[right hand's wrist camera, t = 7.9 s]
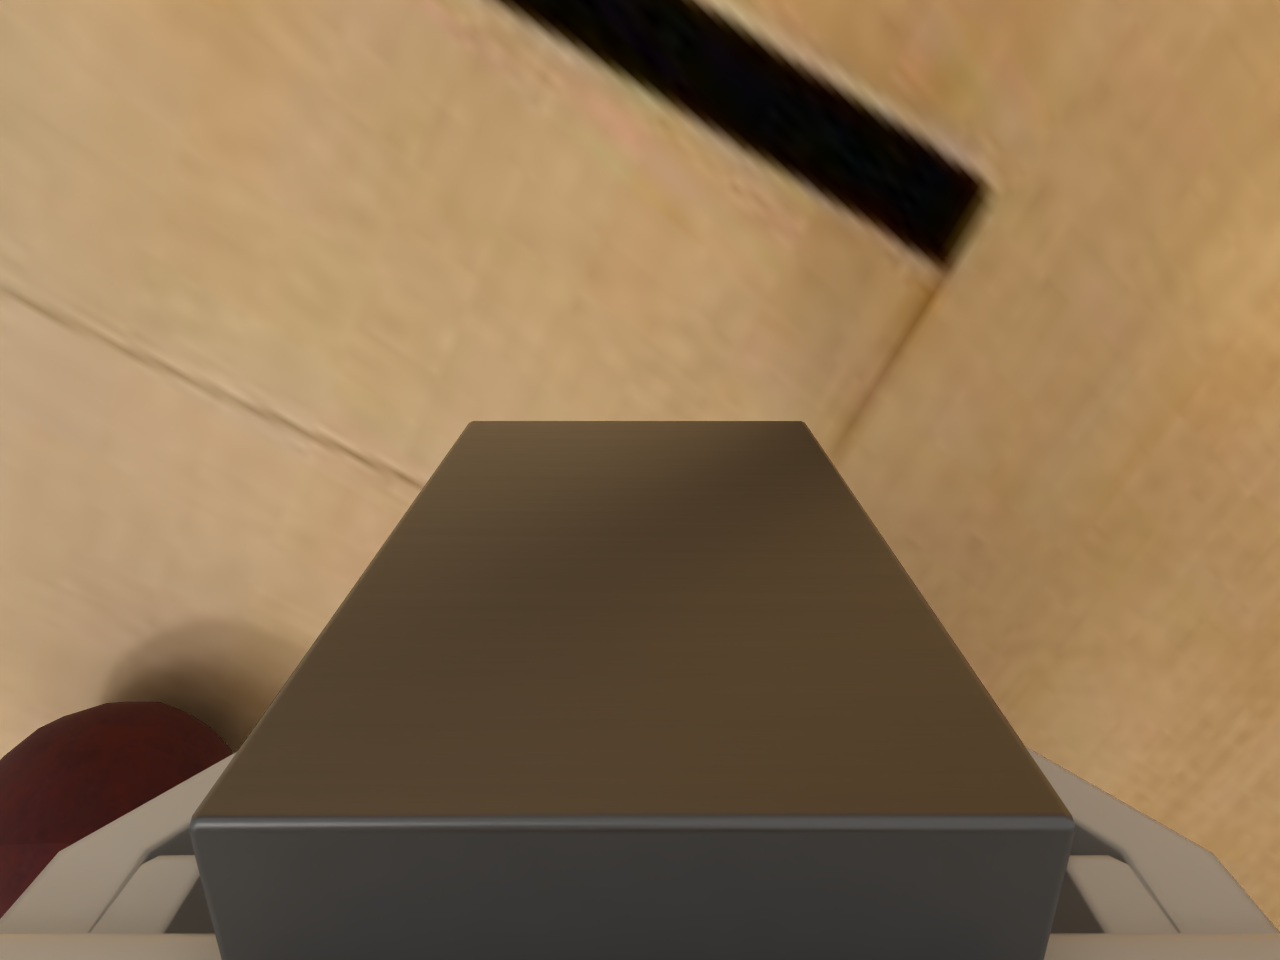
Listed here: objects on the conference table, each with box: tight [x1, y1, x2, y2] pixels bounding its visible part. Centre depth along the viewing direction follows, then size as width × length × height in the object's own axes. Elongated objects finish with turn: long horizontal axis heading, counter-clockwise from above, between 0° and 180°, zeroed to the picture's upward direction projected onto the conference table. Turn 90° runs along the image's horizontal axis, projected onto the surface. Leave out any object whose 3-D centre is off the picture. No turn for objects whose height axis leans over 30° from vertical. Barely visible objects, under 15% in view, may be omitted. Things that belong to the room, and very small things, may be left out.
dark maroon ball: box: [0, 702, 233, 919], centre depth 25 cm, size 7×8×7 cm
